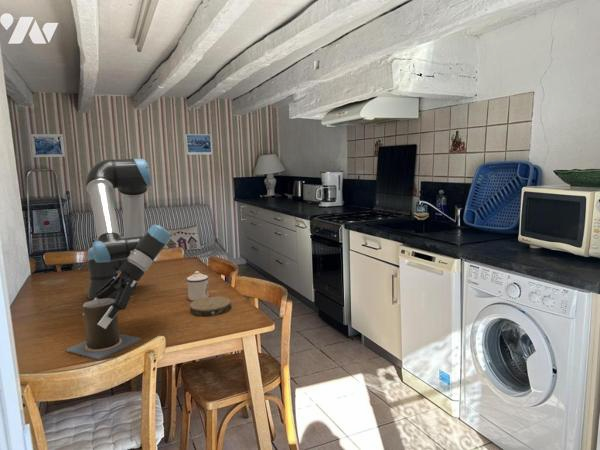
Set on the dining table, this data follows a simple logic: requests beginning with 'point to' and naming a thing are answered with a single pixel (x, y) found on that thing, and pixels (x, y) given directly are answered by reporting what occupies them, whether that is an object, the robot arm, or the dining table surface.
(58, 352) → the dining table surface
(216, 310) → the wood log slice
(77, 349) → the mat
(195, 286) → the teacup with lid
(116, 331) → the pillar candle
